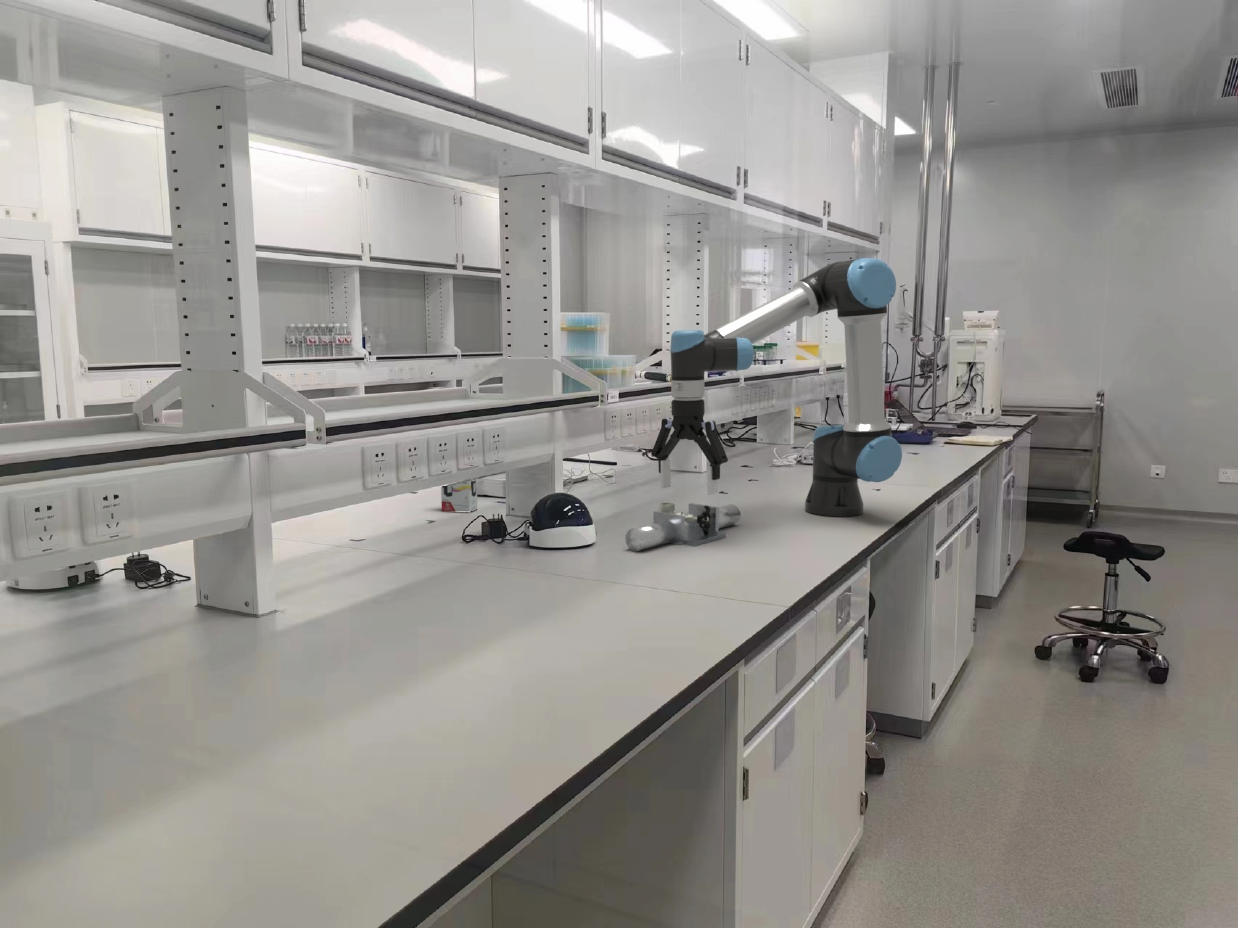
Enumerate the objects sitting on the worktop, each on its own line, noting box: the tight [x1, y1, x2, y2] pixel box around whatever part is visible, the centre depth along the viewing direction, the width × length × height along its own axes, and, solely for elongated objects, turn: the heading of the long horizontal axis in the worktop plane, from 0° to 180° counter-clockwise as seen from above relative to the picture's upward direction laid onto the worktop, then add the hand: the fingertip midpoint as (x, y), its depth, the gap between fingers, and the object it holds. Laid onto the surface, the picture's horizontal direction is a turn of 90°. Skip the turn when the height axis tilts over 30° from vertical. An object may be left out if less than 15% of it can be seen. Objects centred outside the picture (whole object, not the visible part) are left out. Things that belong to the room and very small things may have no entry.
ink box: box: [440, 479, 478, 512], centre depth 234 cm, size 9×5×12 cm, turn 73°
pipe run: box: [624, 502, 742, 552], centre depth 204 cm, size 37×14×6 cm, turn 138°
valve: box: [658, 501, 711, 534], centre depth 205 cm, size 7×7×12 cm
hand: (688, 490), depth 203 cm, fingers open, 13 cm apart
